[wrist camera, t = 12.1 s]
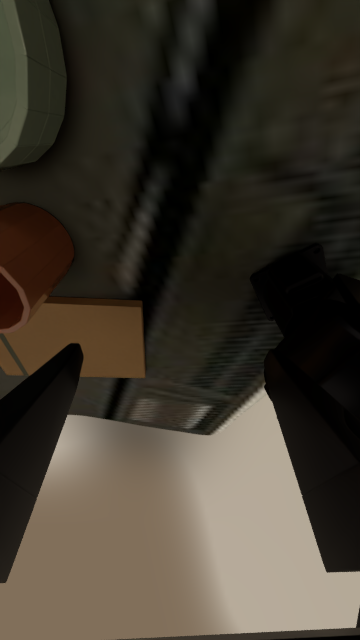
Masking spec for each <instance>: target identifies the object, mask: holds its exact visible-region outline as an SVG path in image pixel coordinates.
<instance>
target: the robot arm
mask: <svg viewBox="0 0 360 640" xmlns="http://www.w3.org/2000/svg"><path fill="white" fill-rule="evenodd" d="M316 248H318V249H317V251H315V252H314V250H315V249H316ZM255 278H258V279H257V280H254V279H255ZM250 280H251V283H252V285H253V287H254V289H255V292H256V294H257V296H258V298H259V301H260V303H261V305H262V307H263V310H264V312H265V314H266V316H267V318H268V320H269V321H273V320H275V321H276V323H277V325H278V327H279V328H280V330H281V332H282V334H283V336H284V337H285V338H284V339H283V340H282V341H281V342H280V343H279V345H278V346H277V347H276V348H275V349H274V350H273V349H271V350H269V352H268V354H267V356H266V358H265V360H264V367H265V369H264V377H265V382H266V384H265V386H264V388H265V390H266V392H267V394H268V396H269V398H270V399H271V401H272V402H273V405H274V409H275V412H276V415H277V419H278V421H279V424H280V427H281V431H282V434H283V437H284V440H285V443H286V447H287V449H288V453H289V456H290V459H291V462H292V465H293V469H294V472H295V475H296V478H297V481H298V484H299V488H300V490H301V494H302V495H303V496H302V498H303V500H304V504H305V507H306V510H307V513H308V516H309V520H310V523H311V526H312V529H313V532H314V535H315V539H316V542H317V545H318V548H319V551H320V554H321V557H322V561H323V564H324V567H325V569H326V572H356V571H360V280H357V279H354V278H351V277H348V276H345V275H342V274H338V273H337V274H336V276H335V277H334V278H333V279H332V278H331V277H330V276H329V275H328V273H327V268H326V262H325V257H324V251H323V247H322V246H321V245H319V244H313V245H311V246H309V247H307V248H305V249H303V250H301V251H299V252H296V253H294V254H292V255H290V256H288V257H286V258H283V259H281V260H279V261H277V262H275V263H273V264H271V265H270V266H269V267H267V268H265V269H263V270H261V271H259V272H257V273H255V274H253V275H252V276H251V277H250ZM271 316H272V317H271ZM83 360H84V355H83V352H82V349H81V346H80V344H79V343H70V344H68V345H67V346H66V347H64V348H63V349H62V350H61V351H60V352H58V353H57V354H56V355H55V356H53V357H52V358H51V359H50V360H49V361H47V362H46V363H45V364H44V365H42V366H41V367H40V368H39V369H37V370H36V371H35V372H34V373H33V374H31V375H30V376H29V377H28V378H26V379H25V380H24V381H23V382H22V383H20V384H19V385H18V386H17V387H15V388H14V389H13V390H12V391H11V392H9V393H8V394H7V395H6V396H4V397H3V398H2V399H1V400H0V583H5V582H6V581H7V579H8V576H9V573H10V571H11V568H12V566H13V563H14V560H15V557H16V555H17V552H18V549H19V546H20V544H21V541H22V538H23V535H24V532H25V530H26V527H27V524H28V522H29V519H30V516H31V513H32V511H33V508H34V505H35V502H36V500H37V499H36V498H37V497H38V494H39V491H40V488H41V486H42V483H43V480H44V477H45V475H46V472H47V469H48V466H49V464H50V461H51V458H52V455H53V453H54V450H55V447H56V445H57V442H58V439H59V436H60V433H61V431H62V428H63V425H64V423H65V420H66V417H67V414H68V412H69V409H70V406H71V403H72V401H73V398H74V395H75V392H76V389H77V385H78V381H79V377H80V373H81V368H82V364H83ZM119 640H360V608H359V614H358V620H357V626H356V628H343V629H322V630H304V631H303V630H302V631H283V632H282V631H281V632H261V633H241V634H220V635H200V636H180V637H161V638H160V637H159V638H140V639H119Z"/></svg>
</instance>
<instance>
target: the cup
mask: <svg viewBox="0 0 360 640" xmlns="http://www.w3.org/2000/svg"><path fill="white" fill-rule="evenodd" d="M73 260H74V247H73V243H72V241H71V238H70V236H69V234H68V232H67V231H66V230H65V228H64V227H63V226H62V224H61V223H60V222H59V221H58V220H57V219H56V218H54V217H53V216H52V215H51V214H49V213H48V212H46V211H45V210H43V209H41V208H39V207H37V206H34V205H31V204H27V203H19V202H15V203H9V204H6V205H0V334H2V333H13V332H15V331H16V330H18V329H20V328H21V327H23V326H24V325H26V324H27V323H28V322H29V320H30V319H31V318H32V317H33V315H34V314H35V313H36V312H37V310H38V309H39V308H40V306H41V305H42V304H43V303H44V301H45V300H46V299H47V298H48V296H49V295H50V294H51V292H52V291H53V290H54V289H55V287H56V286H57V285H58V284H59V282H60V281H61V280H62V278H63V277H64V276H65V275H66V273H67V272H68V271H69V268H70V267H71V265H72V263H73Z"/></svg>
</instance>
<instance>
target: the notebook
mask: <svg viewBox="0 0 360 640" xmlns="http://www.w3.org/2000/svg"><path fill="white" fill-rule="evenodd" d="M70 343H79V344H80V346H81V349H82V352H83V355H84V360H83V364H82V368H81V373H80V377H122V378H145V374H146V363H145V344H144V324H143V304H142V301H140V300H117V299H95V298H72V297H49V296H48V298H47V299H46V300H45V301H44V303H43V304H42V305H41V306H40V308H39V309H38V310H37V312H36V313H35V314H34V315H33V317H32V318H31V319H30V320H29V322H28V323H27V324H26V325H24V326H23V327H21V328H20V329H18V330H16V331H15V332H13V333H2V334H0V366H1V368H2V369H3V370H4V372H5V373H6V374H7V375H27V376H29V375H31V374H33V373H34V372H35V371H36V370H37V369H39V368H40V367H41V366H42V365H44V364H45V363H46V362H47V361H49V360H50V359H51V358H52V357H53V356H55V355H56V354H57V353H58V352H60V351H61V350H62V349H63V348H64V347H66V346H67V345H68V344H70Z"/></svg>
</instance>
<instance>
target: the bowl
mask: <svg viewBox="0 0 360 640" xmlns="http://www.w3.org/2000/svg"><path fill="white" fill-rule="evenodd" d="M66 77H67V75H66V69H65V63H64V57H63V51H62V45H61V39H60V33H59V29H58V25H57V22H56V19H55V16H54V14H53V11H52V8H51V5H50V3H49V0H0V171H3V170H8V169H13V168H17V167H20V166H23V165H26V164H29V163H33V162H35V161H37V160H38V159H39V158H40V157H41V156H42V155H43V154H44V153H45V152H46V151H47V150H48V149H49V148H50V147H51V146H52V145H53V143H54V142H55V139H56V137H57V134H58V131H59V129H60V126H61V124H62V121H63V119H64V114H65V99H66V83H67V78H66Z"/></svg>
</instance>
